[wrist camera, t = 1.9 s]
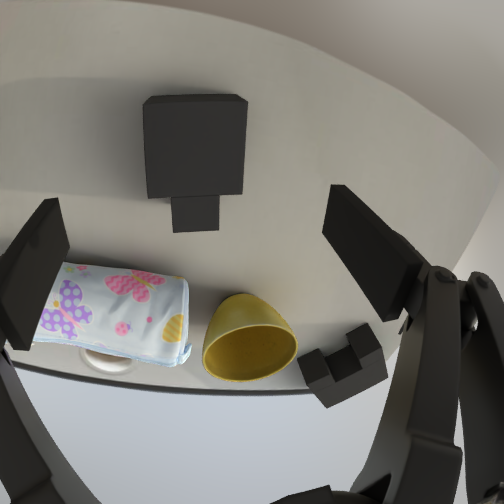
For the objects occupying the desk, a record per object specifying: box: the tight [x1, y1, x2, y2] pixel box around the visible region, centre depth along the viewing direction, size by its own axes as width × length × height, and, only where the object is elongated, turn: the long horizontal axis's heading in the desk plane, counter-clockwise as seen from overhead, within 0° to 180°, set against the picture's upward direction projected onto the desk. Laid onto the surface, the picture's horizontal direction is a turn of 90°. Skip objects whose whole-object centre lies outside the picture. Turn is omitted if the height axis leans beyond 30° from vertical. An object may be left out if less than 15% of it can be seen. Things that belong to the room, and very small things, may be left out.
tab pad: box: [143, 94, 248, 233], centre depth 23 cm, size 7×10×5 cm
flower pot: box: [202, 294, 298, 382], centre depth 34 cm, size 10×10×7 cm
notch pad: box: [297, 323, 388, 408], centre depth 46 cm, size 12×12×5 cm
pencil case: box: [5, 262, 192, 367], centre depth 27 cm, size 21×9×10 cm, turn 75°
